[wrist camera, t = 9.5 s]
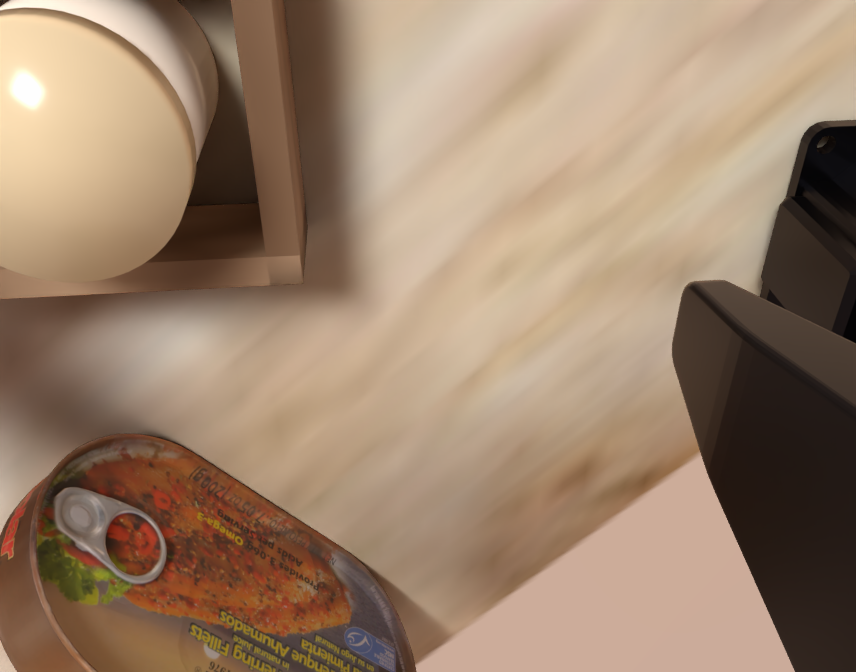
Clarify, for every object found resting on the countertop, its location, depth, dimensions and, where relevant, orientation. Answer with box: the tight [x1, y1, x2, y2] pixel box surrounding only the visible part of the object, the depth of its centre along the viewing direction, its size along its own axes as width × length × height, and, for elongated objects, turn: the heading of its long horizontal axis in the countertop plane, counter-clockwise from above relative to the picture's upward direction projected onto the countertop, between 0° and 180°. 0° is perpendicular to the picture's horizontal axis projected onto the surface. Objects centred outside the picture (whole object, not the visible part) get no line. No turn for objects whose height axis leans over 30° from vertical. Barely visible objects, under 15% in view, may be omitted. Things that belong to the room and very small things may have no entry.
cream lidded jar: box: [0, 0, 219, 282], centre depth 18 cm, size 5×5×5 cm
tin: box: [0, 434, 416, 672], centre depth 26 cm, size 15×3×8 cm, turn 41°
